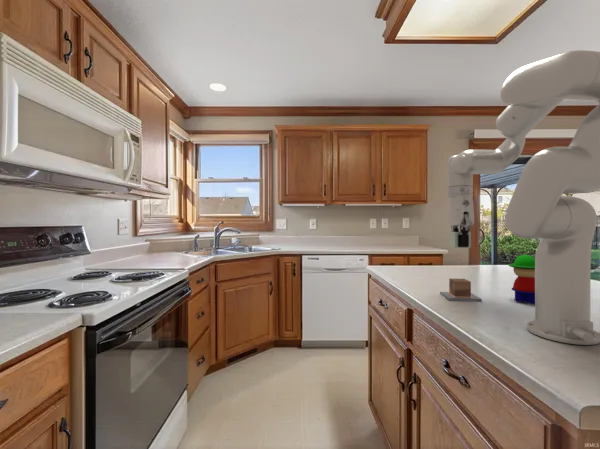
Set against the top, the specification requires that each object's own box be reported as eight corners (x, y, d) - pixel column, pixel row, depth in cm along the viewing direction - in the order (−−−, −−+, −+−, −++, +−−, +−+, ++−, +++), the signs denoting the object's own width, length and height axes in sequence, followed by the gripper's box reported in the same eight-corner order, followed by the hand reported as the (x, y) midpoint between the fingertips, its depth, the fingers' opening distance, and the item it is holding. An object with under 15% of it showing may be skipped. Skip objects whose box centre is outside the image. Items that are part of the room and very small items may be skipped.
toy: (504, 300, 97) (504, 254, 96) (513, 296, 102) (512, 252, 102) (539, 306, 90) (539, 257, 89) (546, 301, 95) (546, 254, 95)
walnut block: (470, 296, 98) (470, 281, 98) (454, 296, 99) (454, 281, 99) (464, 293, 103) (464, 278, 103) (449, 292, 104) (449, 278, 104)
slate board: (481, 301, 96) (481, 298, 96) (449, 300, 98) (449, 297, 98) (469, 294, 105) (469, 291, 105) (440, 294, 106) (439, 291, 106)
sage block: (470, 247, 98) (470, 232, 98) (454, 247, 99) (454, 232, 99) (464, 246, 103) (464, 231, 103) (449, 246, 104) (449, 231, 104)
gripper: (483, 189, 92) (483, 248, 92) (461, 194, 109) (461, 243, 109) (457, 190, 93) (457, 248, 93) (439, 194, 110) (439, 243, 110)
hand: (459, 245), depth 101 cm, fingers closed on sage block, 5 cm apart
